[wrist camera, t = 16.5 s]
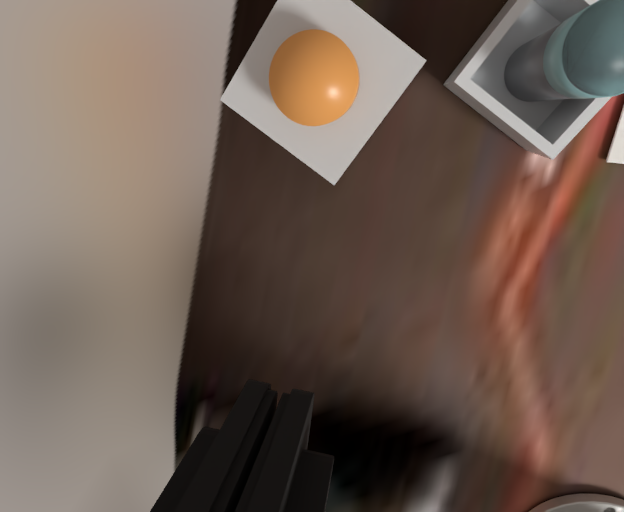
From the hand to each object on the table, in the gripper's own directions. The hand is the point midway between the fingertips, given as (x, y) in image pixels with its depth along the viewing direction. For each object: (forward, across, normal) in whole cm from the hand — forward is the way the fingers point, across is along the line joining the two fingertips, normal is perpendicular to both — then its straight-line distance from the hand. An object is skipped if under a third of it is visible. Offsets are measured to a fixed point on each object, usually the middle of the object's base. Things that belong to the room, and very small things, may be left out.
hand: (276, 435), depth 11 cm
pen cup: (+24, -9, -12) cm, 28 cm away
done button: (+19, +3, -9) cm, 21 cm away
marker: (+23, -10, -11) cm, 27 cm away
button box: (+23, +3, -9) cm, 25 cm away
